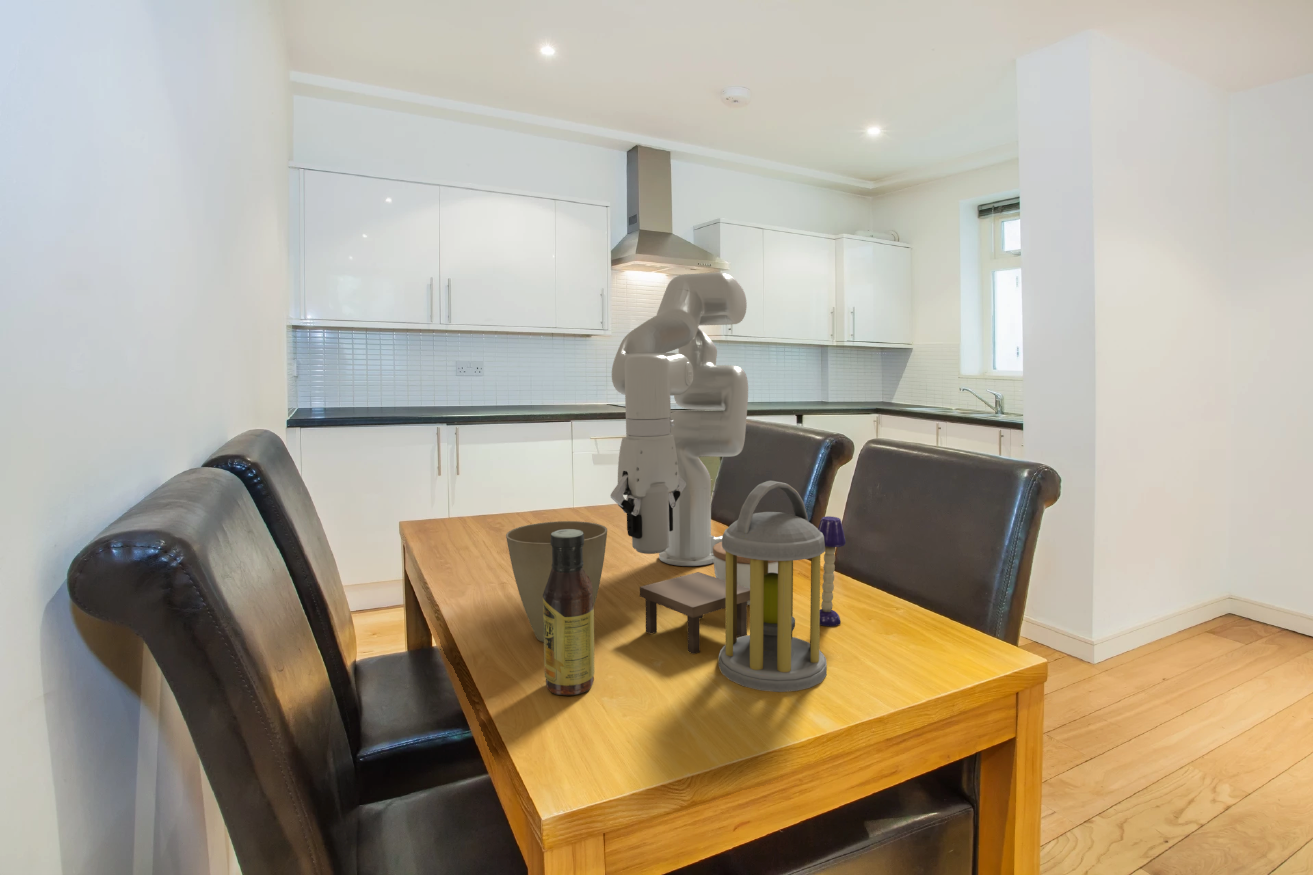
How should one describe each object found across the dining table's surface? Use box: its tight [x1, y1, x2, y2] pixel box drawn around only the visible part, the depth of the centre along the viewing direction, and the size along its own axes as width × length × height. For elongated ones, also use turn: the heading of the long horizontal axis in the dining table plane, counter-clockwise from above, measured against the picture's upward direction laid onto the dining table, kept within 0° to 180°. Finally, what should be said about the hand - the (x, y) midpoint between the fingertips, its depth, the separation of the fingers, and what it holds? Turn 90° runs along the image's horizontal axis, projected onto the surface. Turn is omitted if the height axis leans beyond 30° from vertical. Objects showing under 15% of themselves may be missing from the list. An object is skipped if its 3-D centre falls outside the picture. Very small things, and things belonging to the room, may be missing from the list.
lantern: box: [718, 480, 828, 693], centre depth 88 cm, size 14×14×25 cm
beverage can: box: [631, 482, 670, 555], centre depth 114 cm, size 6×6×12 cm
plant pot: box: [505, 520, 608, 643], centre depth 101 cm, size 15×15×16 cm
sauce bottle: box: [543, 529, 595, 696], centre depth 83 cm, size 6×6×20 cm
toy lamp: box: [817, 515, 846, 627], centre depth 105 cm, size 5×5×17 cm
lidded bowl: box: [713, 542, 778, 606], centre depth 117 cm, size 13×13×11 cm
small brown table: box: [639, 571, 750, 655], centre depth 101 cm, size 12×12×7 cm
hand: (650, 532), depth 115 cm, fingers closed on beverage can, 6 cm apart
